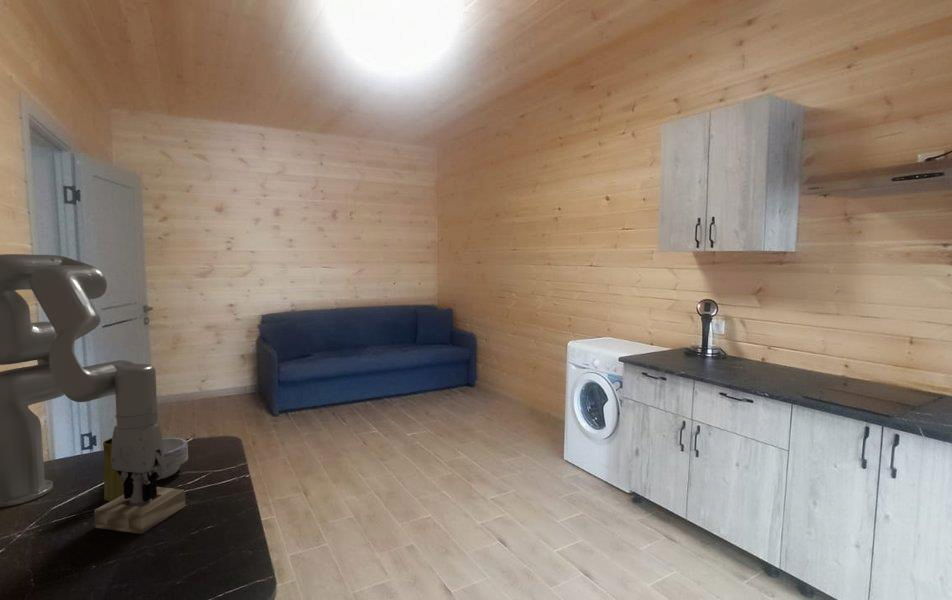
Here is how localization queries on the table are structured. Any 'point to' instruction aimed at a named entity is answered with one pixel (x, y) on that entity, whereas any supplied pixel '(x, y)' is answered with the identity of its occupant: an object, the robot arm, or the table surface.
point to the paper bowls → (174, 455)
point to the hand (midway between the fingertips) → (140, 496)
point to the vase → (111, 475)
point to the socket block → (139, 511)
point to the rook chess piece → (138, 491)
